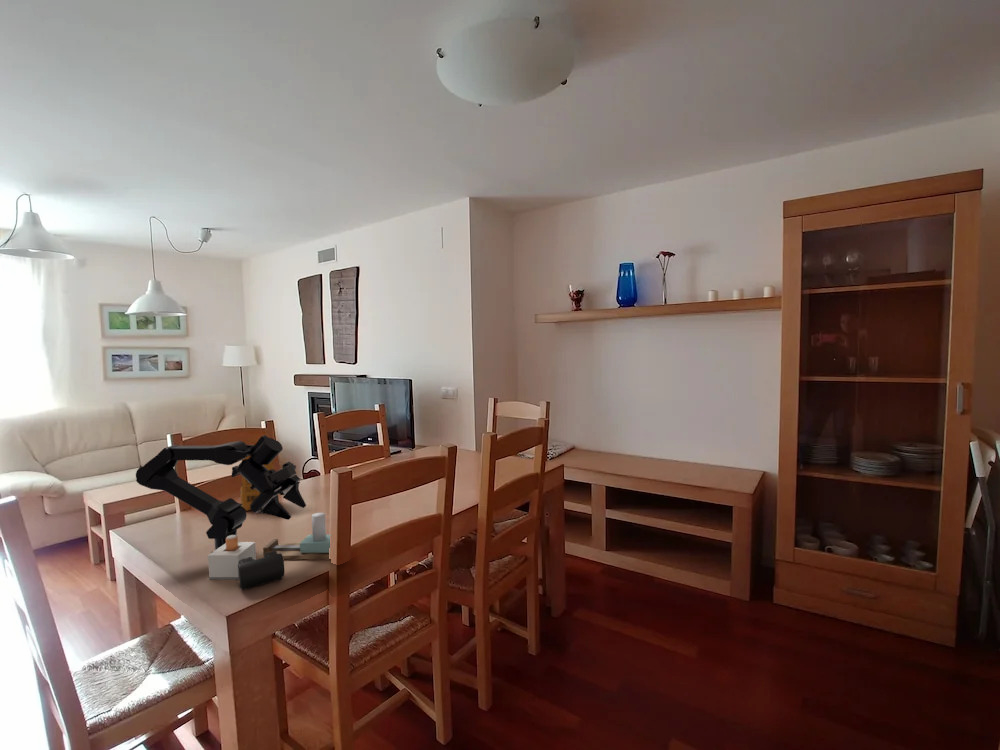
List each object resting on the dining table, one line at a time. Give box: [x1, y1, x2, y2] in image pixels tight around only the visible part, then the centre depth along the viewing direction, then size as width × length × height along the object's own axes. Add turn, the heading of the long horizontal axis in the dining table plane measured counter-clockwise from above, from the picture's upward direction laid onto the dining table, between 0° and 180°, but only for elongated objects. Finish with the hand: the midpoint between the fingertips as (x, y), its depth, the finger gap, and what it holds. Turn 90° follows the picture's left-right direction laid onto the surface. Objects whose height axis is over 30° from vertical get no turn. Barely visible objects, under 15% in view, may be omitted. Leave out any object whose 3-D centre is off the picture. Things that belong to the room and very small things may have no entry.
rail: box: [262, 538, 329, 561], centre depth 135 cm, size 21×8×3 cm, turn 88°
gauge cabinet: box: [207, 541, 257, 581], centre depth 124 cm, size 8×8×6 cm
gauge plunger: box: [226, 534, 239, 551], centre depth 124 cm, size 3×3×4 cm
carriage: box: [299, 512, 331, 553], centre depth 134 cm, size 9×6×10 cm, turn 88°
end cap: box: [238, 551, 285, 591], centre depth 118 cm, size 10×7×7 cm
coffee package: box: [239, 456, 275, 512], centre depth 175 cm, size 10×12×22 cm
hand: (297, 512), depth 134 cm, fingers open, 9 cm apart
